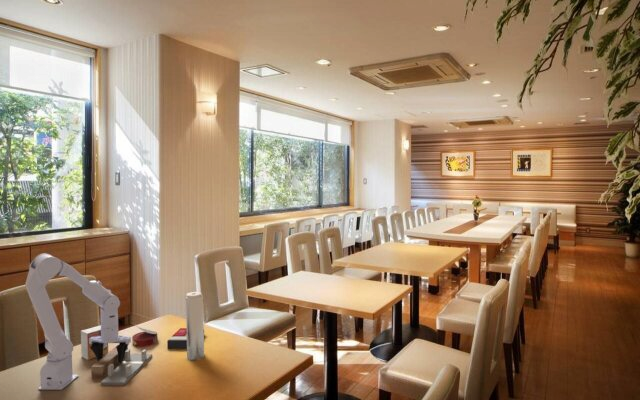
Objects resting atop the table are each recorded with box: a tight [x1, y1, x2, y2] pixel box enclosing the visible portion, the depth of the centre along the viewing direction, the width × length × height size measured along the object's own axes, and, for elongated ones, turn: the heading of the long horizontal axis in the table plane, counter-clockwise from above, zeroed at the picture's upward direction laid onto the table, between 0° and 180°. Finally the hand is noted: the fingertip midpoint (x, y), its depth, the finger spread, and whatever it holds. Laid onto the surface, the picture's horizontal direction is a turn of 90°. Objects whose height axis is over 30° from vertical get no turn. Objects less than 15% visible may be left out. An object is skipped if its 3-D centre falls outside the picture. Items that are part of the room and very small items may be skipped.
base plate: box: [100, 349, 153, 386], centre depth 149 cm, size 22×8×4 cm, turn 179°
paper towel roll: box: [185, 291, 205, 361], centre depth 159 cm, size 6×6×25 cm
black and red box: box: [166, 327, 187, 350], centre depth 175 cm, size 11×4×15 cm
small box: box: [80, 324, 109, 361], centre depth 161 cm, size 8×6×10 cm
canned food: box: [131, 323, 158, 348], centre depth 174 cm, size 11×10×10 cm
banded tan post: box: [90, 346, 129, 379], centre depth 152 cm, size 18×4×4 cm, turn 179°
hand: (110, 362), depth 152 cm, fingers open, 7 cm apart
